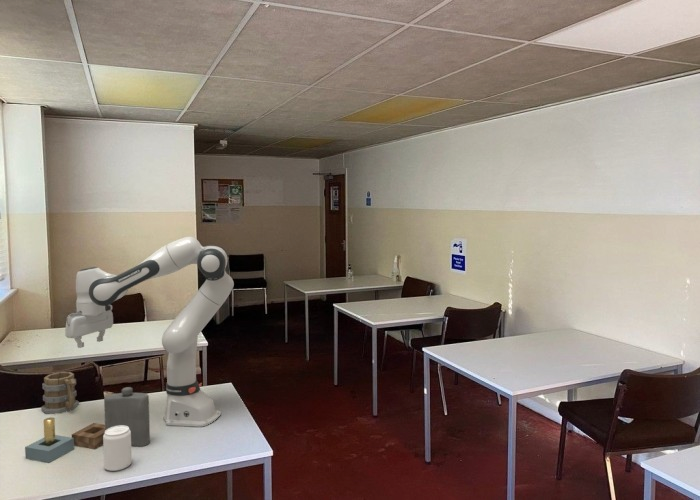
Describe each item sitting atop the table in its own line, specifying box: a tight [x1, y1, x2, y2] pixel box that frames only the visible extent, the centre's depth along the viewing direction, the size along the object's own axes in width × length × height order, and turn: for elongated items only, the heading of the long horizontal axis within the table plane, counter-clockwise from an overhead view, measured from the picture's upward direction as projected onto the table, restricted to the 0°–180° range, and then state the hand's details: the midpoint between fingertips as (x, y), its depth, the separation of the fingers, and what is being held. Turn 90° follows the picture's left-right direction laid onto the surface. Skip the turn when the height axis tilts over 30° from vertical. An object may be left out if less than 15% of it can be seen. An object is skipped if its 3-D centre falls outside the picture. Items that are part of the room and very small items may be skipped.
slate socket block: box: [24, 434, 75, 464], centre depth 167 cm, size 10×10×4 cm
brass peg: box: [43, 417, 56, 446], centre depth 167 cm, size 3×3×12 cm
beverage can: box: [102, 425, 133, 472], centre depth 159 cm, size 8×8×12 cm
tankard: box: [41, 371, 80, 415], centre depth 204 cm, size 20×13×15 cm, turn 50°
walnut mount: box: [71, 422, 105, 450], centre depth 176 cm, size 10×10×4 cm
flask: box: [103, 386, 151, 447], centre depth 174 cm, size 15×6×20 cm, turn 93°
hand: (90, 344), depth 190 cm, fingers open, 8 cm apart
